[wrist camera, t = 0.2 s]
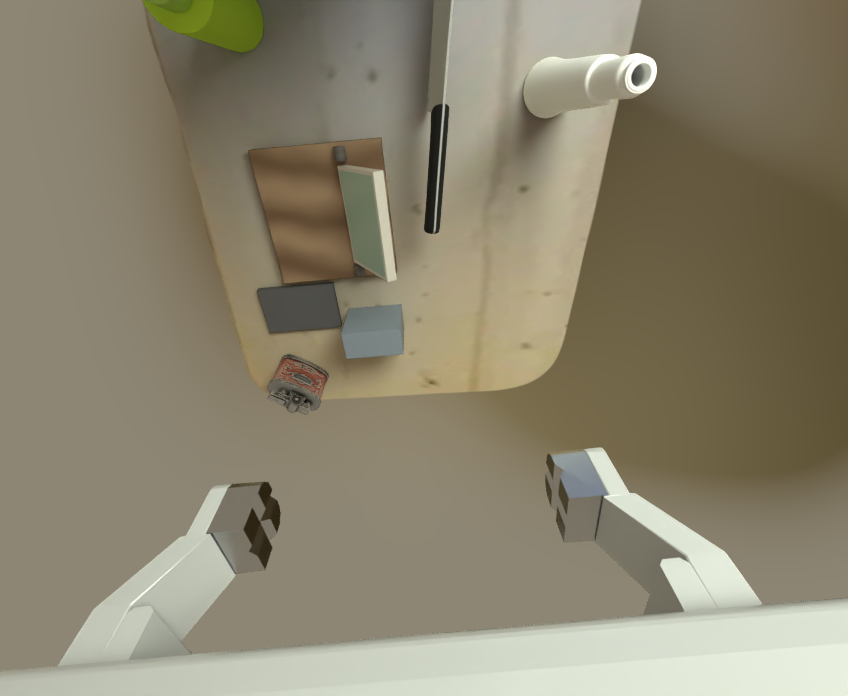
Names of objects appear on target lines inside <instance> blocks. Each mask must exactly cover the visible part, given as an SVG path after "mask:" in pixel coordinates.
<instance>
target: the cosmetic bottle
mask: <svg viewBox="0 0 848 696" xmlns="http://www.w3.org/2000/svg"><path fill="white" fill-rule="evenodd" d="M656 73H657V67H656V64H655V62H654V60H653V59H652V58H650V57H647V56H645V55H642V54H638V53H637V54H631V55H627V56H623V57H619V56H617V55H614V54H604V55H595V56H588V57H582V58H575V59H561V58H558V57H548V58H545V59H543V60H541V61H539V62H538V63H537V64H535V65H534V67H533V68H532V69H531V70H530V72H529V73H528V75H527V77H526V80H525V83H524V89H523V96H524V101H525V104H526V106H527V108H528V110H529V111H530V112H531V113H532V114H533V115H535V116H537V117H540V118H551V117H554V116H556V115H558V114H560V113H562V112H565V111H570V110H577V109H585V108H591V107H597V106H602V105H607V104H609V103H611V102H613V101H614V100H615V99H630V98H633V97H636V96H638V95H639V94H641V93H642V92H644V91H646V90H647V89H648V88H649V87H650V86H651V85H652V84H653V82H654V80H655V77H656Z"/></svg>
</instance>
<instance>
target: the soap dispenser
mask: <svg viewBox="0 0 848 696" xmlns="http://www.w3.org/2000/svg"><path fill="white" fill-rule="evenodd" d="M142 1H143V3H144V4H145V6H146V8H147V9H148V11H149V12H150V13H151V14H152V16H153V17H154V18H155V19H156V20H157V21H158V22H159V23H161V24H162V25H163V26H165V27H166V28H168V29H170V30H172V31H174V32H177V33H180V34H183V35H186V36H189V37H192V38H196V39H199V40H202V41H205V42H208V43H211V44H214V45H217V46H220V47H223V48H226V49H229V50H232V51H235V52H248V51H251V50H252V49H254V48H255V47H256V46H257V45H258V44H259V42H260V40H261V38H262V35H263V29H264V22H263V16H262V12H261V9H260V7H259V5H258V3H257V1H256V0H142Z"/></svg>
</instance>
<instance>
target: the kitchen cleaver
mask: <svg viewBox="0 0 848 696" xmlns="http://www.w3.org/2000/svg"><path fill="white" fill-rule="evenodd" d="M453 5H454V0H434V6H433V24H432V41H431V58H430V75H429V94H428V112H431V135H430V152H429V168H428V183H427V199H426V213H425V224H424V230H425V232H427V233H430V234H436V233H438V232H439V229H440V218H441V206H442V194H443V182H444V170H445V158H446V146H447V133H448V117H449V106H448V105H447V104H445V97H446V85H447V73H448V61H449V49H450V37H451V26H452V15H453Z"/></svg>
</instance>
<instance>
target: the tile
mask: <svg viewBox="0 0 848 696" xmlns="http://www.w3.org/2000/svg"><path fill="white" fill-rule="evenodd" d="M337 167H338V173H339V178H340V184H341V190H342V195H343V201H344V207H345V212H346V218H347V224H348V229H349V235H350V241H351V246H352V252H353V258H354V262H355V263H357V264H359V265H360V266H362V267H364V268H365V269H367V270H369V271H370V272H372V273H373V274H375V275H377V276H378V277H380V278H382V279H383V280H385V281H387V282H390V281H393V280H397V278H396V270H395V262H394V254H393V245H392V237H391V229H390V221H389V213H388V205H387V197H386V189H385V180H384V172H383V170H378V169H371V168H365V167H358V166H352V165H342V166H337Z"/></svg>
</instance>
